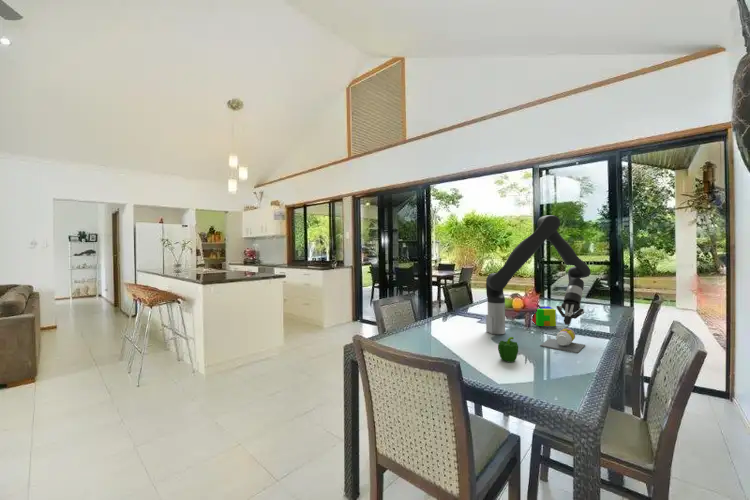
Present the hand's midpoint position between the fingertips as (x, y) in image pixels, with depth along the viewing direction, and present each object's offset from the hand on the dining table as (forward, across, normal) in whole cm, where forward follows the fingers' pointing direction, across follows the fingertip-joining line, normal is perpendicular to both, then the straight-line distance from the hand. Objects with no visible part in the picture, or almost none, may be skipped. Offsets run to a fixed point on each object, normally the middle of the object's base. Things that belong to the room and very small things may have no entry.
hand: (566, 323), depth 168 cm
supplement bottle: (+3, 0, +5) cm, 6 cm away
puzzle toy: (-14, -20, +28) cm, 37 cm away
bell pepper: (+37, -12, -23) cm, 45 cm away
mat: (+12, 0, +2) cm, 12 cm away
